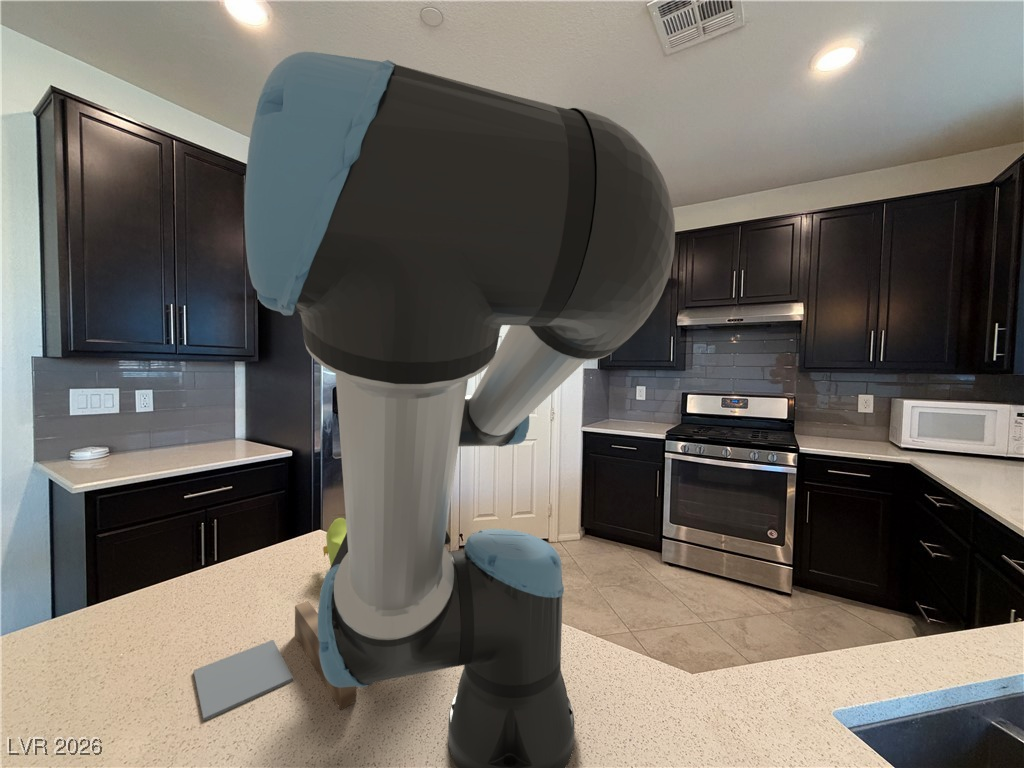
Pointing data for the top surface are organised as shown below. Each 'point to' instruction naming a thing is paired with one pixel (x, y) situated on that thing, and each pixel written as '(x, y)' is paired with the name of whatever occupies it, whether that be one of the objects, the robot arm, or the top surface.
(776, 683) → the top surface
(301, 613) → the walnut wall
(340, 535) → the toy
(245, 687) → the grey mat
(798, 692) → the top surface
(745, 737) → the top surface
